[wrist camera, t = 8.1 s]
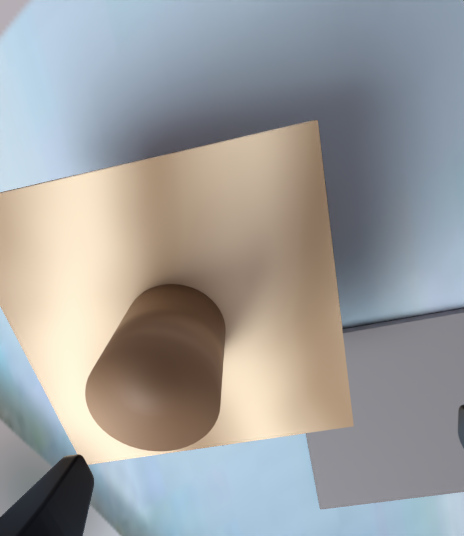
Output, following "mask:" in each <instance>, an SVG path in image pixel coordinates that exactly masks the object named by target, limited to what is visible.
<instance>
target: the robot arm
mask: <svg viewBox="0 0 464 536" xmlns="http://www.w3.org/2000/svg"><path fill="white" fill-rule="evenodd" d="M458 436H459V440H460V442H461V445H462V447H463V449H464V405H461V406H460V407H459V410H458ZM93 487H94V478H93V474H92V472H91V471H90V469H89V467H88V465H87V463H86V461H85V459H84V457H83V456H82V455H80V454H77V455H69V456H65V457H63V458H62V459H61V460H60V461H59V462H58V463H57V464H56V465H55V466H54V467H52V468H51V469H50V470H49V471H48V472H47V473H46V474H45V475H44V476H43V477H42V478H41V479H40V480H39V481H38V482H37V483H36V484H35V485H34V486H33V487H32V488H30V489H29V490H28V491H27V492H26V493H25V494H24V495H23V496H22V497H21V498H20V499H19V500H18V501H17V502H16V503H15V504H14V505H13V506H12V507H10V508H9V509H8V510H7V511H6V512H5V513H4V514H3V515H2V516H1V517H0V536H83V532H84V528H85V523H86V518H87V514H88V509H89V505H90V501H91V496H92V492H93Z"/></svg>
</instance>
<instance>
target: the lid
mask: <svg viewBox="0 0 464 536" xmlns="http://www.w3.org/2000/svg"><path fill="white" fill-rule="evenodd" d="M0 306H1V308H2V310H3V312H4V314H5V316H6V318H7V320H8V322H9V324H10V326H11V328H12V329H13V331H14V333H15V335H16V337H17V339H18V341H19V343H20V345H21V347H22V349H23V351H24V352H25V354H26V356H27V358H28V360H29V362H30V364H31V366H32V368H33V370H34V372H35V374H36V375H37V377H38V379H39V381H40V383H41V385H42V387H43V389H44V391H45V393H46V395H47V397H48V399H49V400H50V402H51V404H52V406H53V408H54V410H55V412H56V414H57V416H58V418H59V420H60V422H61V423H62V425H63V427H64V429H65V431H66V433H67V435H68V437H69V439H70V441H71V443H72V445H73V446H74V448H75V450H76V452H77V454H80V455H82V456H83V457H84V459H85V461H86V463H87V465H89V464H96V463H103V462H110V461H117V460H124V459H131V458H137V457H144V456H151V455H158V454H165V453H172V452H179V451H186V450H193V449H200V448H207V447H214V446H221V445H228V444H234V443H241V442H248V441H255V440H262V439H269V438H276V437H283V436H290V435H297V434H304V433H311V432H318V431H325V430H331V429H338V428H345V427H352V426H354V424H353V415H352V407H351V398H350V390H349V381H348V373H347V364H346V356H345V347H344V339H343V330H342V322H341V313H340V305H339V296H338V288H337V279H336V271H335V262H334V254H333V245H332V237H331V228H330V220H329V211H328V203H327V194H326V186H325V177H324V169H323V160H322V152H321V143H320V135H319V126H318V120H311V121H307V122H303V123H298V124H294V125H290V126H285V127H281V128H277V129H272V130H268V131H264V132H259V133H255V134H251V135H246V136H242V137H238V138H233V139H229V140H225V141H220V142H216V143H212V144H207V145H203V146H199V147H194V148H190V149H186V150H182V151H177V152H173V153H169V154H164V155H160V156H156V157H151V158H147V159H143V160H138V161H134V162H130V163H125V164H121V165H117V166H112V167H108V168H104V169H99V170H95V171H91V172H86V173H82V174H78V175H73V176H69V177H65V178H60V179H56V180H52V181H48V182H43V183H39V184H35V185H30V186H26V187H22V188H17V189H13V190H9V191H4V192H0Z"/></svg>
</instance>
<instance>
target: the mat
mask: <svg viewBox="0 0 464 536" xmlns="http://www.w3.org/2000/svg"><path fill="white" fill-rule="evenodd" d="M342 330H343V339H344V347H345V356H346V364H347V373H348V381H349V390H350V398H351V407H352V415H353V424H354V426H352V427H345V428H338V429H331V430H325V431H318V432H311V433H306V437H307V443H308V448H309V453H310V458H311V464H312V469H313V474H314V480H315V485H316V490H317V496H318V501H319V506H320V509H328V508H336V507H344V506H352V505H360V504H368V503H377V502H385V501H393V500H401V499H409V498H417V497H425V496H433V495H441V494H449V493H457V492H464V449H463V447H462V445H461V442H460V440H459V436H458V410H459V407H460V406H461V405H464V308H463V309H457V310H452V311H446V312H440V313H434V314H429V315H423V316H417V317H411V318H405V319H400V320H394V321H388V322H382V323H376V324H371V325H365V326H359V327H353V328H348V329H342Z"/></svg>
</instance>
